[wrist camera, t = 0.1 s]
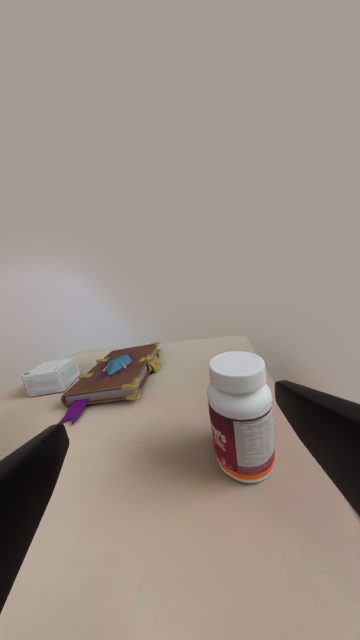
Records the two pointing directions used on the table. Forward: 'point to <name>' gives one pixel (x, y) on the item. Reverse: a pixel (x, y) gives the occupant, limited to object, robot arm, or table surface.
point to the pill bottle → (241, 416)
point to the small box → (51, 376)
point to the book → (112, 379)
